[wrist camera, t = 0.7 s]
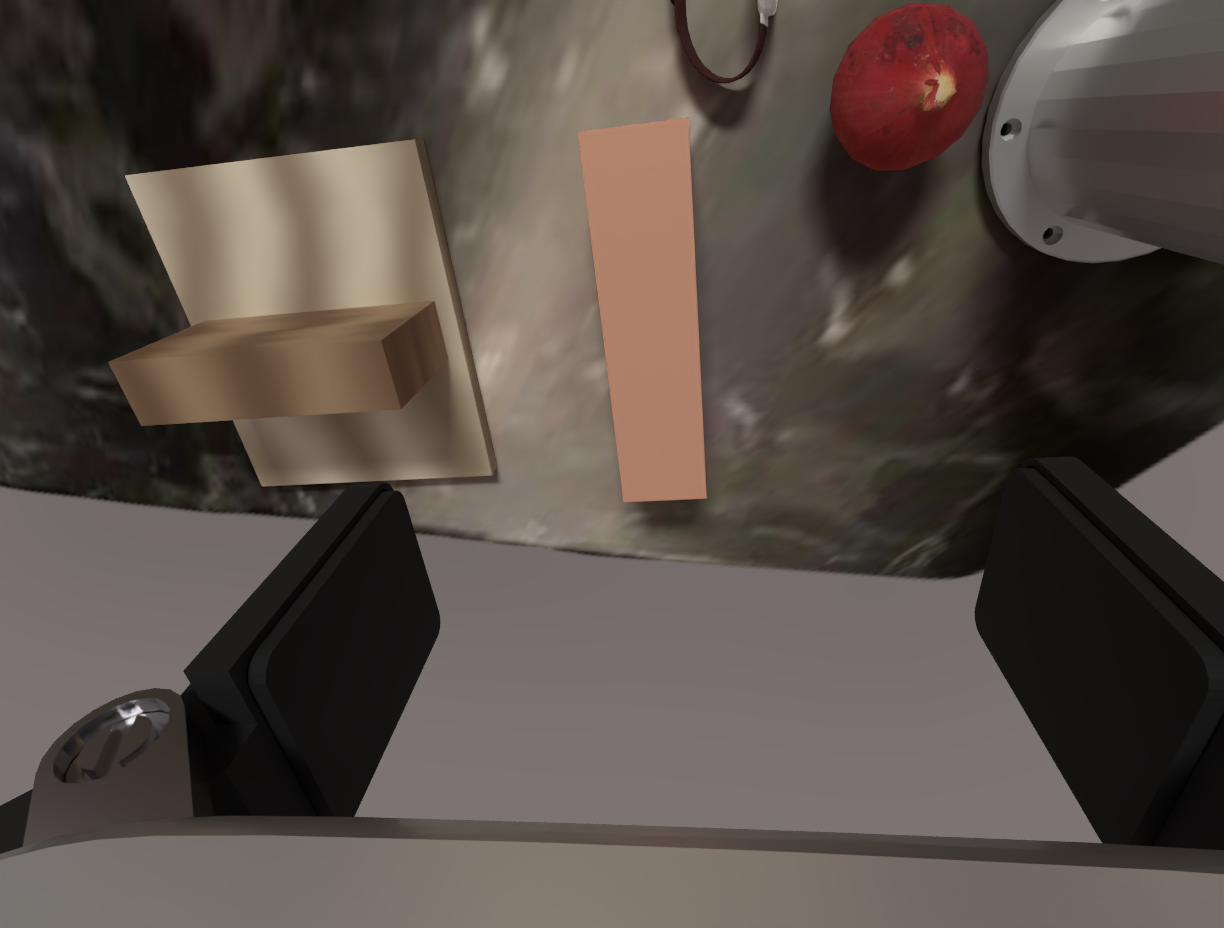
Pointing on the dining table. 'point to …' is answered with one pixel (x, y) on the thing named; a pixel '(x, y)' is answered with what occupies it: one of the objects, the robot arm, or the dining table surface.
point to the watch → (765, 8)
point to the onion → (908, 86)
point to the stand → (314, 317)
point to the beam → (648, 303)
